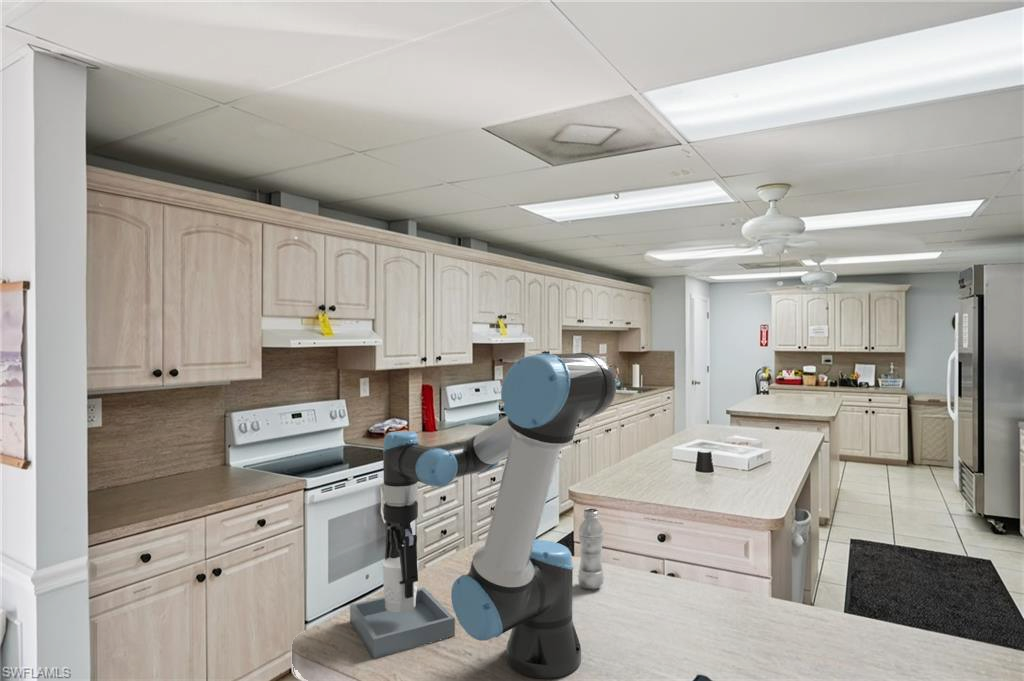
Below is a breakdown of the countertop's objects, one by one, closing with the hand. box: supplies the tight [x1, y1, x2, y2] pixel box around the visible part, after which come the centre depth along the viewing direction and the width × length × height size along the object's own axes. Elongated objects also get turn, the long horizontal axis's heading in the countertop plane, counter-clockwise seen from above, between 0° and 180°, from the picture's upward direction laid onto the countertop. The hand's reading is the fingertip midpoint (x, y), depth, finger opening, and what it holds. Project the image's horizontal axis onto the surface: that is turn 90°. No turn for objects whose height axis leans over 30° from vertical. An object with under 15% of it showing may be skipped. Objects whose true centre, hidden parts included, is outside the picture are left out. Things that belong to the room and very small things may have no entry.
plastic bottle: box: [577, 508, 605, 590], centre depth 153 cm, size 6×7×20 cm
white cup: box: [382, 557, 419, 613], centre depth 132 cm, size 8×8×10 cm
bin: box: [349, 587, 456, 660], centre depth 132 cm, size 18×18×4 cm
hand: (400, 603), depth 132 cm, fingers closed on white cup, 7 cm apart
